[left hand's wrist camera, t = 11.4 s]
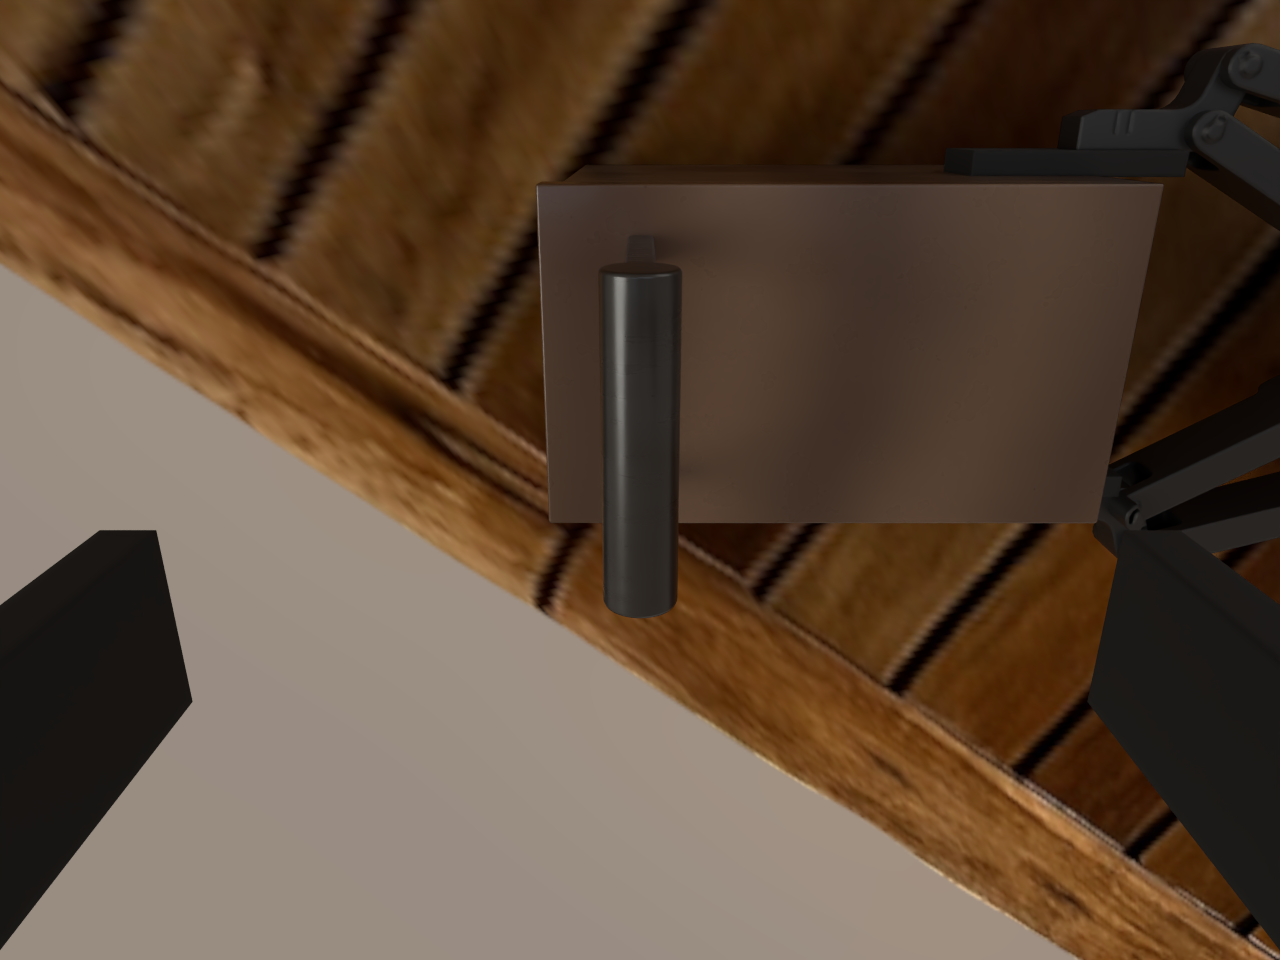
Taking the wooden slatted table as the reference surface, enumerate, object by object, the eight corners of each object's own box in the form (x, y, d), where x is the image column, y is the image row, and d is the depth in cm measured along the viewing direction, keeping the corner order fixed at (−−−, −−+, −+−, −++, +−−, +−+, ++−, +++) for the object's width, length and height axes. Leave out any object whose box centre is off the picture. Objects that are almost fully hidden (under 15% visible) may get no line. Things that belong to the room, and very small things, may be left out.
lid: (552, 509, 29) (516, 665, 20) (539, 181, 25) (489, 209, 17) (1081, 509, 29) (1259, 666, 20) (1144, 181, 25) (1391, 209, 17)
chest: (590, 408, 39) (572, 509, 29) (585, 164, 35) (562, 181, 25) (966, 408, 39) (1081, 509, 29) (999, 164, 35) (1143, 181, 25)
